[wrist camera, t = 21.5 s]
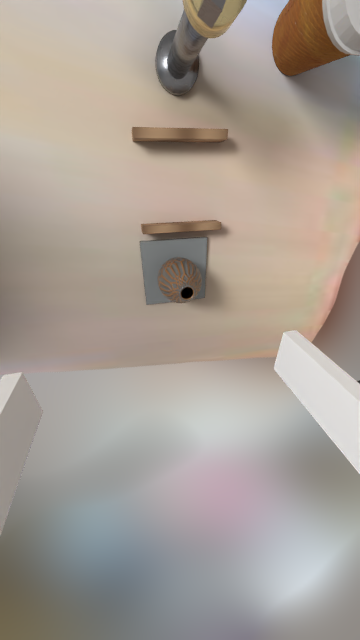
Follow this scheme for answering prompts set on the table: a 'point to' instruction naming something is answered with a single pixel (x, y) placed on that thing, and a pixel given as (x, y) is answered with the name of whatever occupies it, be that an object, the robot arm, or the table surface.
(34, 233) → the table surface
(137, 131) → the cradle
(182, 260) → the vase
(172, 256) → the mat
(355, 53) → the disposable coffee cup
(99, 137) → the table surface
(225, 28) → the latch
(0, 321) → the table surface
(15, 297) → the table surface
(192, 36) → the post
